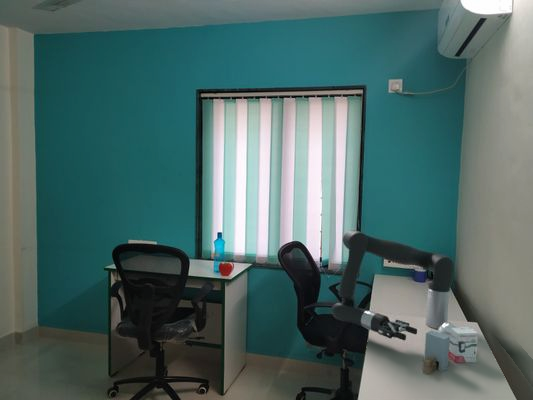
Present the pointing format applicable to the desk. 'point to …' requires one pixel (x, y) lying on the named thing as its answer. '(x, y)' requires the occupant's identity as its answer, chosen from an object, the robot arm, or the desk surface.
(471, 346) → the ink box
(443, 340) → the notched block
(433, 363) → the notched rail
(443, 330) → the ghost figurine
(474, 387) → the desk surface
